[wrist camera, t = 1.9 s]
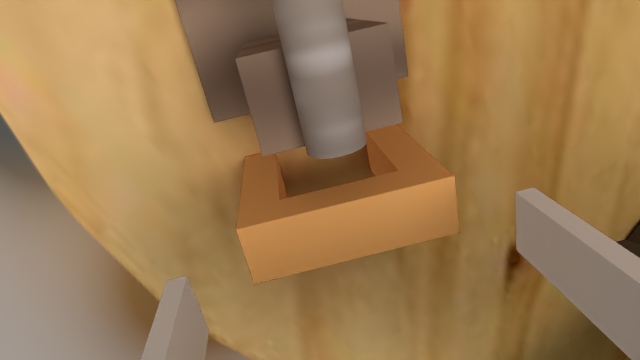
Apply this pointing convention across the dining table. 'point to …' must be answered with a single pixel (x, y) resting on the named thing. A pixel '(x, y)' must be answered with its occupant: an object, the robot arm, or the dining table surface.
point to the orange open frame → (345, 210)
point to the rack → (300, 68)
